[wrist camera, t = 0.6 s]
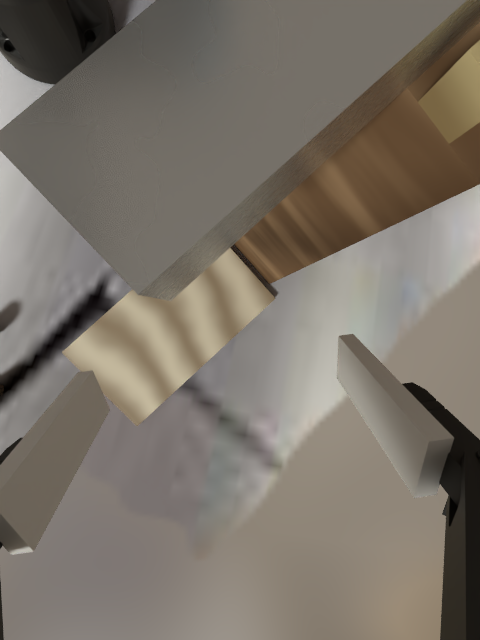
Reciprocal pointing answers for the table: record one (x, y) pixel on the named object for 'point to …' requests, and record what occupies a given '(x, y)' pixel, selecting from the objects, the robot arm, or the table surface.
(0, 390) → the figurine
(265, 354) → the table surface
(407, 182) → the wooden rectangular column
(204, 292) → the board
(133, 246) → the block
